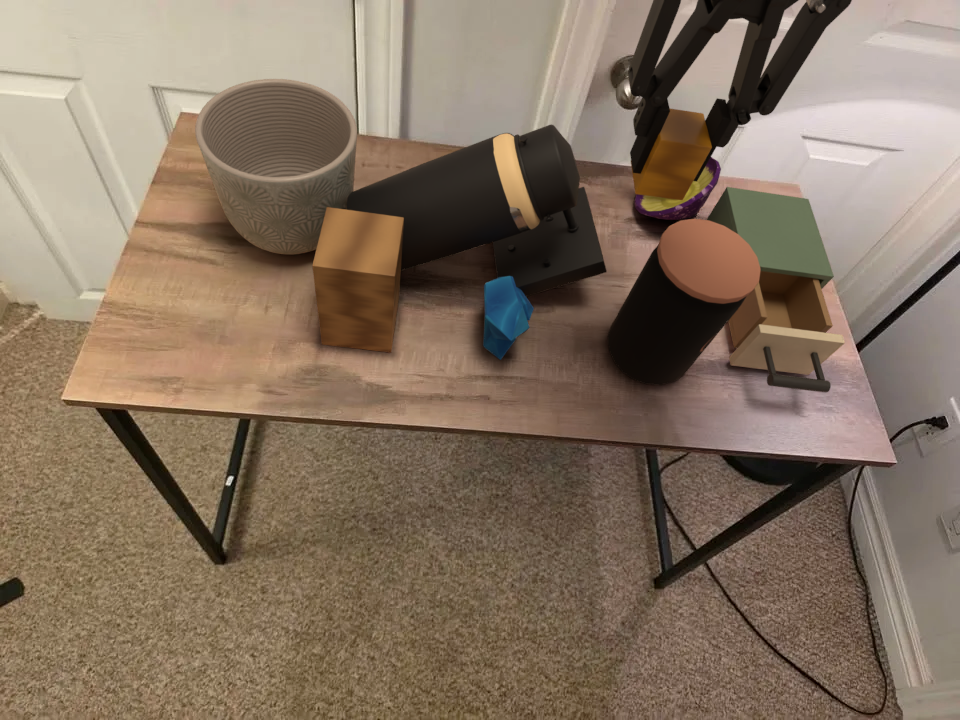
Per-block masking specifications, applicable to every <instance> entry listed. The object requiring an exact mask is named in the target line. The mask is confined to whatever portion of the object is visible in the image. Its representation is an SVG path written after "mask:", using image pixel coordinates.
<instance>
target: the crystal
mask: <svg viewBox="0 0 960 720" xmlns="http://www.w3.org/2000/svg"><path fill="white" fill-rule="evenodd" d="M483 288H484V289H483V297H484V298H483V299H484V321H483V322H484V323H483V339H482V341H483V342H482V347H483V348H484V349H485V350H487V351H488V352H490V353H491V354H492V355H493V356H495V358H497V359H499V360H500V361H501V360H502V359H503V357H505V355H506V354H507V352H508V351H509V350H510V348H511V347H512V345H513V344H514V343H515V342H516V341H517V338H518V337H519V336H521V335H522V334H524V333H525V332H527V331H528V330H529V329H530V324H529V322H530V321H531V318H532V314H533V312H534V309H535V308H534V306H533V305H532V303H531V301H530V300H529V299H528V298H527V297H528V296H525V295H524V293H523V292H522V290H520V289H519V288H517V287H516V285H515V282H514V279H513V277H512V276H505V277H499V278H494V279H491V280H490V281H486V282H485V284H484V285H483ZM528 321H529V322H528Z"/></svg>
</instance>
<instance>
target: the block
mask: <svg viewBox="0 0 960 720" xmlns="http://www.w3.org/2000/svg"><path fill="white" fill-rule="evenodd" d="M705 120H706V118H705V114H704V113H703V112H697V111H689V110H683V109H676V108H670V113H669V115H668V117H667V119H666V121H665V123H664V126H663V128H662V130H661V132H660V133H659V135H658V137H657V139H656V141H655V144H654V146H653V148H652V150H651V152H650V154H649V157H648V159H647V161H646V163H645V165H644V167H643V170H642V172H641V174H638V173H633V170H632V169H631V173H632V180H633V187H634V194H635V195H637V194H639V195H646V196H654V197H661V198H669V199H676V200H683V199H684V197H685V195H686V193H687V192H688V190H689V188H690V186H691V184H692V183H693V181H694V179H695V177H696V175H697V174H698V172H699V170H700V168H701V166H702V165H703V163H704V161H705V159H706V157H707V156H708V154H709V152H710V150H711V148H712V145H711V141H710V137H709V133H708V130H707V126H706V122H705ZM630 168H632V163H631V162H630Z"/></svg>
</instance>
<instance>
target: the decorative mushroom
mask: <svg viewBox="0 0 960 720" xmlns="http://www.w3.org/2000/svg"><path fill="white" fill-rule="evenodd" d="M721 171H722V167H721V165H720V162H719V161H718V159H715V158H714V157H713V156H711V157H710V159H709V161H708V163H707V165H706V166H705V168H704V170H703V172H702V173H701V175H700V177H699V179H698V181H697V182H696V181H693V183H692V184H691V186H690V188H689V190H688V192H687V193H686V195H685V197H684V199H683V200H676V199H669V198H661V197H654V196H646V195H639V194H635V197H634V202H633V203H634V208H635V210H636V211H638V213H640V214H641V215H644V216H648V217H652V218H655V219H660V220H668V221H669V220H670V221H674V220H676V221H677V220H678V221H680V220H688V219H696V217H697V215H698V213H700V211H701V209H702V208H703V207H704V206H705V204H706V202H707V201H708V199H709V197H710V196H711V193H712V192H713V190H714V189H715V187H716V186H717V185H718V183H719V180H720V179H719V178H720V174H721Z"/></svg>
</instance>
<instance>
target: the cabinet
mask: <svg viewBox="0 0 960 720" xmlns="http://www.w3.org/2000/svg"><path fill="white" fill-rule="evenodd" d="M706 220H709V221H712V222H715V223H718V224H720V225H723V226H725V227H727V228H729V229H730V230H732V231H734V232H735V233H737V234H738V235H739V236H740V237H742V238H743V239H744V240H745V241H746V242H747V243H748V244H749V245H750V247H751V248H752V250H753V251H754V253H755V254H756V256H757V258H758V262H759V265H760V269H761V270H760V271H764V272H772V273H779V274H786V275H794V276H801V277H808V278H816V279H818V280H819V283H820V286H821V289H822V290H823V289H824V288H825V287H826V285H827V284H828V283H829V282H830V281H832V280H833V278H835V277H834V276H835V275H834V273H833V269H832V267H831V263H830V260H829V257H828V254H827V251H826V248H825V245H824V242H823V239H822V236H821V233H820V230H819V227H818V224H817V221H816V218H815V215H814V211H813V209H812V205H811V201H810V199H809V198H805V197H798V196H791V195H785V194H779V193H771V192H764V191H758V190H751V189H744V188H737V187H732V186H726V187H725V189H724V191H723V192H722V194H721V195H720V197H719V199H718V201H717V202H716V203H715V205H714V207H713V208H712V210H711V212H710V213H709V215H708V217H706Z"/></svg>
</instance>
